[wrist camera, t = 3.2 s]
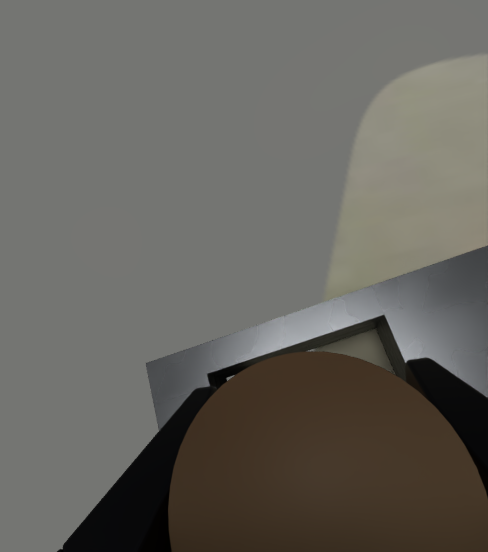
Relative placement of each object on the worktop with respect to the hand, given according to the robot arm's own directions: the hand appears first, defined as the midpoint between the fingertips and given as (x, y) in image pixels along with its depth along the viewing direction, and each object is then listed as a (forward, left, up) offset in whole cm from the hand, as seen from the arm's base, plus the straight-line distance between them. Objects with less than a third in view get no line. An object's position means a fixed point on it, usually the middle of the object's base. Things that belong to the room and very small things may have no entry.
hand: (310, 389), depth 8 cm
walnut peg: (-1, 0, -7) cm, 7 cm away
